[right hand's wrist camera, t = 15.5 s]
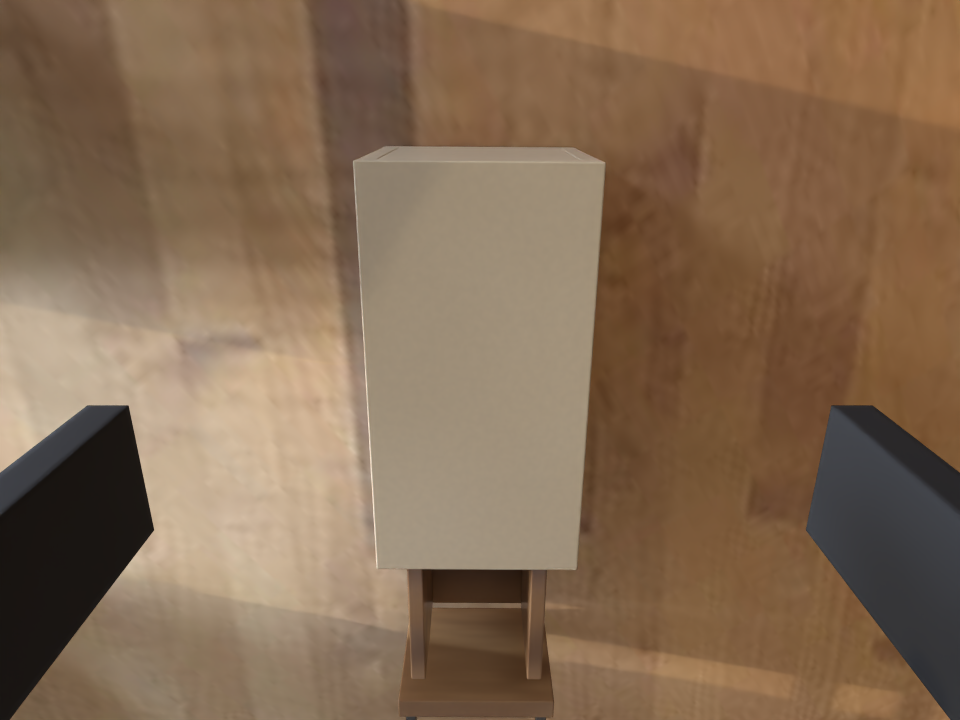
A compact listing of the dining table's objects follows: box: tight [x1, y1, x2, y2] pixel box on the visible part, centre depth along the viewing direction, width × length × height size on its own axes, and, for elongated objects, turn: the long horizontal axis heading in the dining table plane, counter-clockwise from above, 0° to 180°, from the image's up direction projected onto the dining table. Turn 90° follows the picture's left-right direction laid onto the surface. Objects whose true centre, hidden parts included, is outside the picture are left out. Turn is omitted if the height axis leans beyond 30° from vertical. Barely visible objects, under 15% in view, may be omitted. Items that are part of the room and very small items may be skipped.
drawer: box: [398, 569, 554, 720], centre depth 39 cm, size 24×9×7 cm, turn 0°
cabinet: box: [353, 146, 606, 570], centre depth 34 cm, size 19×10×9 cm, turn 0°
